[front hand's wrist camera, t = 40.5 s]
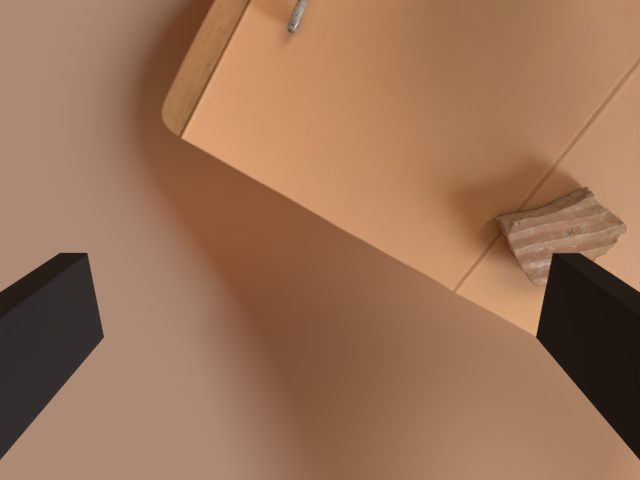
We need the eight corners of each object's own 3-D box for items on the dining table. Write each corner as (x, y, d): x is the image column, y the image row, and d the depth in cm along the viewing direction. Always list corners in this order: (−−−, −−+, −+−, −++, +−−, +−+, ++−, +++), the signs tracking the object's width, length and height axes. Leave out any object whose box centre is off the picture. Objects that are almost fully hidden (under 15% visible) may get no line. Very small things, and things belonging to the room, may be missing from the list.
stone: (529, 291, 57) (538, 300, 55) (491, 218, 54) (500, 224, 52) (623, 243, 55) (637, 250, 53) (591, 163, 52) (604, 167, 49)
